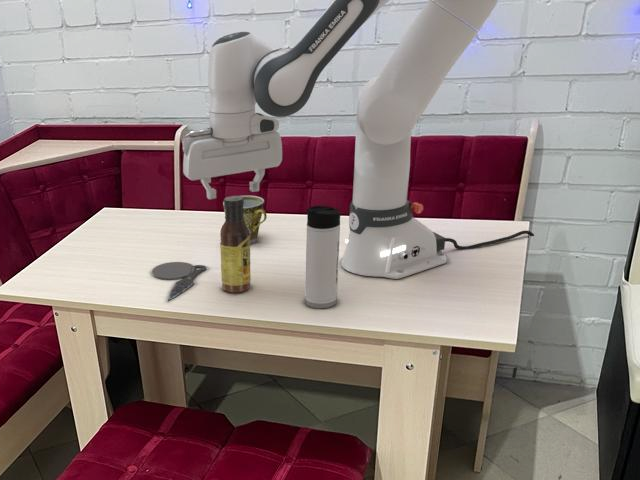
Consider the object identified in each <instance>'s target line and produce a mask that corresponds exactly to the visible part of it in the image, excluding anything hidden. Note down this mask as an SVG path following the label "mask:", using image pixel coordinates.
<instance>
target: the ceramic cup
mask: <svg viewBox="0 0 640 480" xmlns="http://www.w3.org/2000/svg"><path fill="white" fill-rule="evenodd" d="M240 196H241V197H243V198H244V205H243V216H244V221H245V223H246V226H247V229H248V231H249V233H250V245H252V244H255V243H257V242H258V237H259V230H260V226H261V224H263V223H264V222H265V221H266V220H267V212H266V210H265V209H264V207H265V199H264V198H263V197H261V196H256V195H240ZM222 206H223V211H224V213H225V206H224V201H223V202H222ZM262 216H263V220H262Z"/></svg>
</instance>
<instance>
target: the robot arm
mask: <svg viewBox="0 0 640 480" xmlns="http://www.w3.org/2000/svg"><path fill="white" fill-rule="evenodd" d="M390 1H391V0H331V1H330V3H329V4H328V6H327V8H326V9H325V10H324V12H323V13H322V14H321V15H320V16H319V18H318V19H316V21H315V22H314V23H313V25H312V26H311V27H310V28H309V29H308V30H307V31H306V33H305V34H304V35H303V36H302V37H301V38H300V40H299V41H298V42H297V43H296V45H294V46H293V47H292V48H290V49H287V48H285V47H280V46H275V45H272V44H270V43H267V42H265V41H263V40H261V39H259V38H257V37H256V36H254V35H253V34H252V33H251V32H249V31H239V32H233V33H230V34H227V35H223V36H222V37H219V38H218V39H217V40H215V41H214V43H213V44H212V46H211V47H210V50H209V55H208V66H207V68H208V71H207V78H208V79H207V80H208V81H207V82H208V85H207V86H208V90H209V94H210V103H209V106H208V111H209V112H208V115H209V117H208V119H209V121H208V123H209V127H207V128H202V129H198V130H195V129H193V130H191V131H188V133H187V134H186V135H185V136H184V137H183V138H182V141H181V143H182V152H183V160H182V161H183V162H182V173H183V175H184V176H185V177H186V178H187V179H189V180H190V181H198V180H199V181H200V183H201V184H202V186H203V187H204V189H205V191H206V198H207V199H208V200H215V199H217V189H215V188H214V187H211V185H210V184H211V183H212V178H217V177H223V176H229V175H235V174H241V173H246V172H252V171H253V172H254V173H255V176H254V177H253V179H252V181H249V182H248V183H249V184H248V185H249V187H248V189H249V191H250V192H252V193H254V192H259V191H260V184H261V182H262V180H263V178H264V176H265V174H266V173H265V172H266V169H270V168H271V169H272V168H278V167H279V166H280V165H281V163H282V161H283V143H282V137H281V135H280V133H279V132H278V130H279V128H280V121H279V120H278V119H276V118H284V117H290V116H293V115H294V114H296V113H298V112H300V110H301V109H302V108H304V107H305V105H307V103H308V101H309V99H310V97H311V95H312V94H313V93H312V92H313V91H314V88H315V85H316V83H317V80H318V78H319V76H320V75H321V73H322V72H323V71H324V69H325V68H326V67H327V66H328V65H329V63H330V62H331V61H332V60H333V59H334V57H336V55H337V54H338V53H339V52H340V51H341V49H342V48H344V46H345V45H346V44H347V43H348V41H349V40H350V39H351V38H352V37H353V36H354V35H355V34H356V32H358V31H359V29H360V28H361V27H362V26H363V25H364V24H365V23H366V22H367V21H368V20H369V19H371V18H372V17H373V16H374V15H375V14H376V13H377V12H378V11H380V10H381V9H382V8H383V7H384V6H385V5H387V4H388V3H389V2H390ZM500 1H501V0H427V2H426V3H425V4H424V6H423V7H422V9H421V10H420V12H419V13H418V15H416V18H414V20H413V22H412V23H411V25H410V26H409V28H408V29H407V30H406V31H405V33H404V35H403V36H402V37H401V39H400V41H399V43H398V44H397V46H396V48H395V49H394V52H393V53H392V54H391V57H390V58H389V60H388V61H387V64H386V65H385V66H384V68H383V70H382V71H381V73H380V74H379V75H376V76H373V77H372V78H370V80H368V81H367V82H366V83H365V84H364V85H363V87H362V88H361V90H360V91H359V94H358V97H357V102H356V120H355V121H356V123H355V145H354V166H353V167H354V168H353V182H352V183H353V185H352V199H351V201H350V204H349V215H348V217H349V218H348V226H349V232H348V238H347V239H345V241H344V243H345V244H346V248H345V251H344V254H343V257H342V260H341V263H340V265H341V268H343V269H344V270H346V271H347V272H349V273H352V274H355V275H359V276H366V277H377V278H386V279H387V278H388V279H392V280H399V279H403V278H406V277H409V276H411V275H414V274H418V273H420V272H423V271H424V272H425V271H426V270H429V269H432V268H435V267H438V266H441V265H444V264H446V263H448V261H447V260H448V259H447V256H446V254H445V253H444V252H443V250H445V245H446V243H447V242H449V243H451V244H453V247H454V248H455V249H457V250H471V249H472V250H473V249H476V248H480V247H484V246H489V245H494V244H498V243H501V242H505V241H509V240H510V241H511V240H512V239H515V238H518V237H520V236H523V235H528V236H529V237H535V234H534V233H533V232H532V231H531V230H521V231H518V232H515V233H514V234H511V235H508V236H504V237H500V238H496V239H492V240H488V241H482V242H479V243H475V244H470V245H466V246H465V245H464V246H463V245H459V244H458V242H457V240H456V239H454V238H450V237H444V236H443V235H441V234H439V233H437V232H434V231H432V229H430V227H429V228H428V227H427V226H426V225H425V224H424V223H422V222H421V221H419V220H418V219H417V218H415V217H414V215H413V212H414V213H416V214H417V215H418V214H421V213H422V212H423V211H424V205H423V204H422V203H419V202H416V201H415V202H413V203H412V201H410V200H408V190H409V181H410V180H409V179H410V171H411V170H410V168H411V143H412V130H413V129H414V127H415V125H416V124H417V123H418V121H419V120H420V118H421V117H422V115H423V114H424V112H425V110H426V109H427V107H428V106H429V105H430V103H431V101H432V100H433V98H434V97H435V95H436V93H437V92H438V90H439V88H440V87H441V85H442V84H443V81H444V80H445V78H446V77H447V75H448V74H449V73H450V71H451V69H452V68H453V67H454V65H455V64H456V63H457V61H459V59H460V58H461V56H462V55H463V53H464V52H465V51H466V50H467V48H468V47H469V46H470V45H471V43H472V42H473V40H474V39H475V38H476V36H477V35H478V33H479V32H480V31H482V29H483V27H484V25H485V24H486V22H487V21H488V20H489V18H490V17H491V15H492V14H493V13H494V11H495V9H496V8H497V6H498V4H499V2H500ZM256 104H257V106H258V107H259V108H260V109H261V110H262V111H263V112H264V113H265V114H262V113H260V112H256ZM274 117H276V118H274ZM512 369H513V370H512V376H511V378H512V379H516V377H517V372H518V371H517V370H518V366H515V367H513V368H512Z"/></svg>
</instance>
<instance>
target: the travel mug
mask: <svg viewBox="0 0 640 480" xmlns="http://www.w3.org/2000/svg"><path fill="white" fill-rule="evenodd" d="M305 211H306V213H305V214H307V216H306V217H307V220H306V242H305V244H306V245H305V246H306V248H305V249H306V250H305V281H304V282H305V287H304V294H305V295H304V303H305V304H306V305H307V307H310V308H314V309H328V308H331V307H334V306H335V305H336V304H337V300H338V296H337V295H338V279H339V277H338V276H339V262H340V261H339V259H340V258H339V257H340V237H341V210H340V209H336V208H334V207H333V206H327V205H315V206H313V205H312V206H308V207H307V209H306V210H305Z"/></svg>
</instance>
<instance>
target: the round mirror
mask: <svg viewBox="0 0 640 480" xmlns="http://www.w3.org/2000/svg"><path fill="white" fill-rule="evenodd" d="M193 266H194V265H193V264H191V263H189V262H184V261H170V262H165V263H162V264H159V265H156V266H155V267H154V268H153V269H152V270H151V274H152V276H153V277H154V278H156V279H159V280H164V281H165V280H166V281H175V280H182V279H184V278H185V277H186V276H187V275H188V274H189V273H190V271H191V267H192V271H191V273H190V274H192V273H193V272H194V270H195V268H194V267H193Z"/></svg>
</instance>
